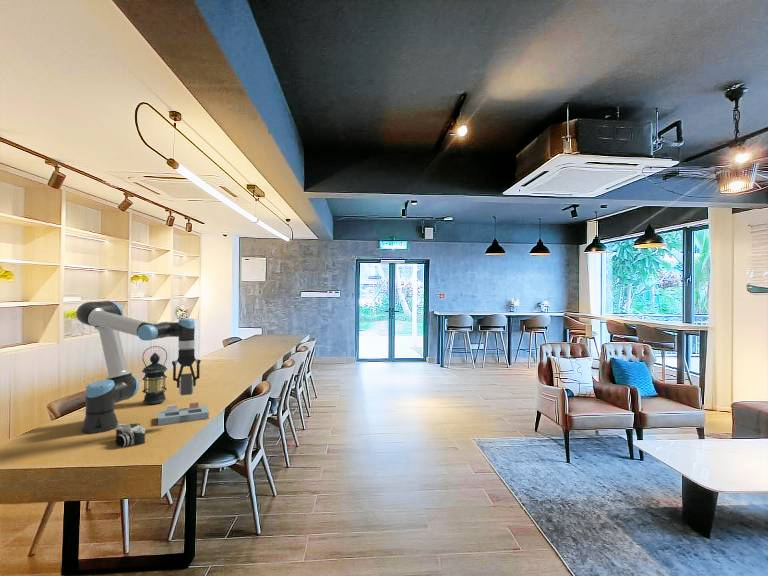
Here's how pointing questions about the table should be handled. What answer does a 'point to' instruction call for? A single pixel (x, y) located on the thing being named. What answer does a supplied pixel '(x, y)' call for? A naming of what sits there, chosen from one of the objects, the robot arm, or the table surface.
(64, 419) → the table surface
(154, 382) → the lantern
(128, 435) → the camera
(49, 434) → the table surface
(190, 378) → the plug
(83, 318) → the robot arm
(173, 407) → the socket block
